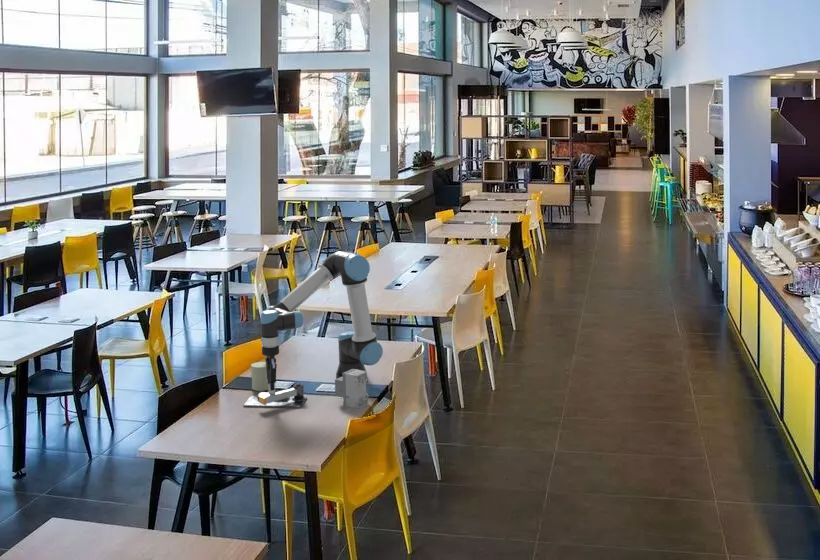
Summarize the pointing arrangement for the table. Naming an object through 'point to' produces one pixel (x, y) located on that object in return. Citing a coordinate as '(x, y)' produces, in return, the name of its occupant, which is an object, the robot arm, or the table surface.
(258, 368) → the can
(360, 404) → the circuit breaker
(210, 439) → the table surface
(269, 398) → the swing arm
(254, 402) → the tray
